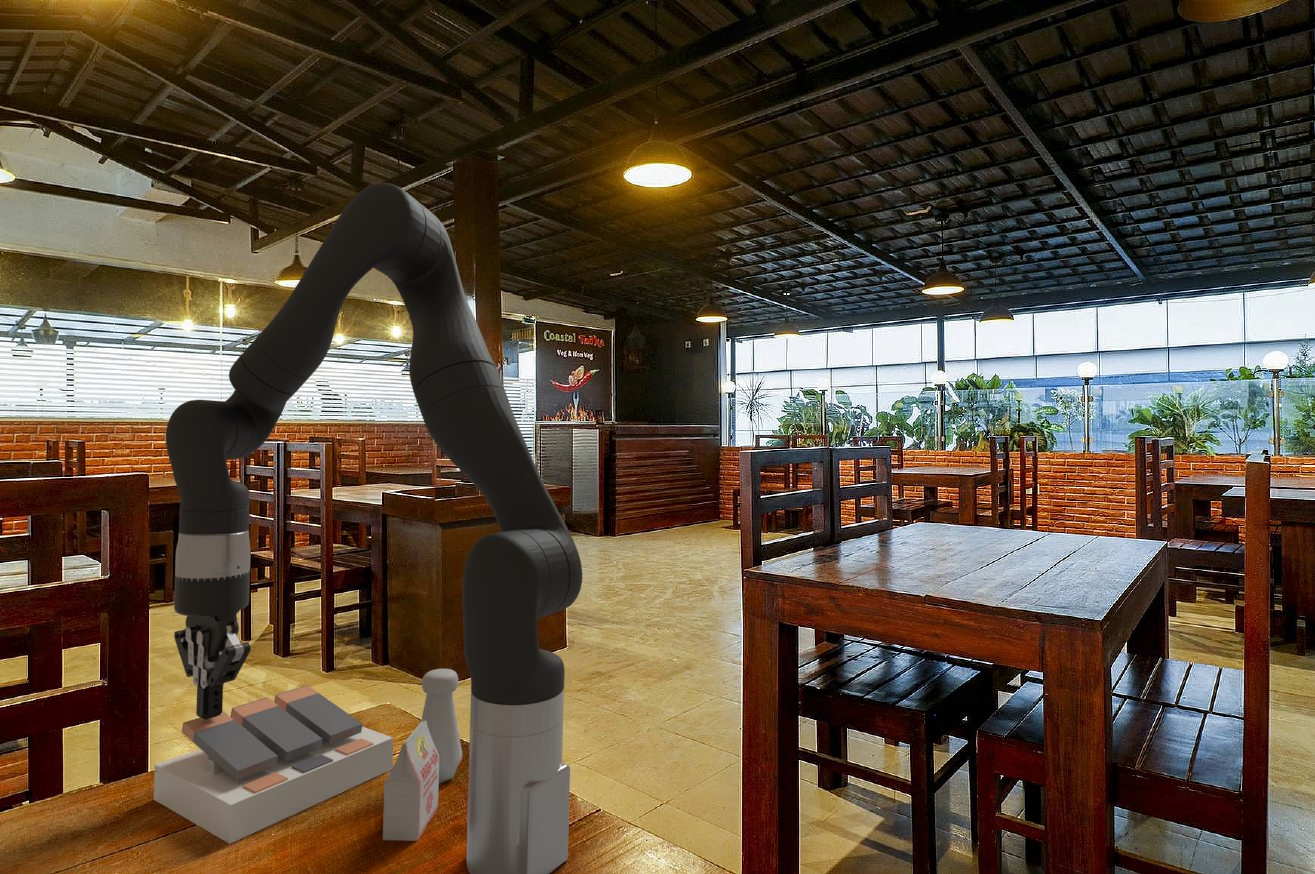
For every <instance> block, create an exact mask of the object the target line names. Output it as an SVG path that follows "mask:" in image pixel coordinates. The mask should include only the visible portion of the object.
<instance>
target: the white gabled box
mask: <svg viewBox="0 0 1315 874" xmlns="http://www.w3.org/2000/svg"><path fill="white" fill-rule="evenodd" d="M393 764H394V765H393V768H392V770H390V772H389V774H388V776H387V778H386V779H385V781H384V783H383V787H384V788H383V791H384V792H383V817H382V818H383V820H382V821H383V824H382V840H383V841H407V842H409V841H411V842H413V841H414V842H415V841H416V842H417V841H419V840H420V838H421V836H423V833H424V831H425V830H426V828H427V827H428V825H429V823H430V822H431V820H432V818H433V817H434V815H435V814H436V812H437V810H438V809H439V785H440V783H439V754H438V752H437V749H436V747H435V745H434V742H433V740H432V738H431V735H430V732H429V729H428V726H427V721H426V720H425V721H424V722H423V721H422V722H421V721H420V723H419V724H418V725H417V726H416V728H415V729H414V730H413V731H412V732H411V734H410V735H409V736H408V737H407V739H405V741H404V742H403V743H402V744H401V747H400V751H399V753H398V756H397V758H396V761H395V762H394V763H393Z"/></svg>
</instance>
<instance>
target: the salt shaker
mask: <svg viewBox="0 0 1315 874" xmlns="http://www.w3.org/2000/svg"><path fill="white" fill-rule="evenodd" d="M421 685H422V686H421V687H422V691H423V692H424V694H426V695H425V696H426V697H425V701H424V706H423V711H422V714H421V715H422V716H421V720H420V723H421V722H422V721H423V722H424V721H425V720H426V721H427V726H428V729H429V732H430V735H431V738H432V740H433V742H434V745H435V747H436V749H437V752H438V754H439V784H442V783H445V782H447V781H449V780H451V779H453V778H454V776H455V774H456V771H457V769H458V767H459V766H460V763H461V761H462V760H463V749H462V744H461V739H460V738H461V737H460V732H459V726H458V722H457V720H458V719H457V712H456V706H455V700H454V693H453V692H456V690H458V687H459V675H458V674H457V672H456V671H455V670H453V669H450V668H436V669H432V670H429V671H428V672H426V673H425V674H424V676H422V681H421Z"/></svg>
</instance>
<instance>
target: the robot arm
mask: <svg viewBox="0 0 1315 874" xmlns="http://www.w3.org/2000/svg"><path fill="white" fill-rule="evenodd" d="M372 269H375V270H376V271H378V272H380V273H382V274H383V275H384V276H386V277H387V278H389V280H390V281H392V283H393V284H394V285H395V287H396V289H397V291H398V293H399V295H400V298H401V299H402V301H403V304H404V306H405V309H406V311H407V314H408V316H409V319H410V323H411V326H412V344H411V348H410V356H409V366H408V367H409V368H408V369H409V372H408V373H409V380H410V384H411V388H412V392H413V395H414V398H415V400H416V403H417V405H418V409H419V411H420V415H421V417H422V420H423V423H424V425H425V427H426V430H427V432H428V434H429V436H430V437H431V439H432V440H433V441H434V443H435V445H437V447H438V448H439V450H441V452H442V453H443V455H445V457H446V458H447V459H449V461H450V462H452V464H454V466H456V468H458V470H460V472H461V473H462V474H463V475H464V476H465V477H466V478H467V479H468V480H469V481H470V482H471V483H472V484H473V485H474V486H475V487H476V489H478V490H479V492H480V493H481V494H482V496H483V497H484V499H485V500H486V502H487V504H488V505H489V507H490V509H491V510H492V513H493V515H494V517H495V519H496V522H497V524H498V527H499V529H500V531H497V532H492V533H489V534H486V535H484V536H482V537H480V538H479V539H478V540H476V542H475V543H474V544H473V545H472V546H471V548H470V550H469V552H468V554H467V557H466V560H465V563H464V568H463V575H462V615H463V616H462V617H463V619H462V620H463V622H462V623H463V624H462V625H463V650H464V651H463V653H464V659H465V663H466V666H467V669H468V672H469V675H470V681H471V682H470V711H469V712H470V715H469V716H470V718H469V719H470V720H469V743H468V744H469V753H468V755H469V756H468V787H467V788H468V789H467V790H468V791H467V792H468V793H467V822H466V823H467V827H466V828H467V831H466V868H467V872H468V873H469V874H550V873H552V872H553V871H554V870H556V869H557V868H559V866H561V865H562V864H563V863H564V862H566V861H567V860H569V829H570V828H569V825H570V791H571V790H570V789H571V788H570V787H571V785H570V784H571V783H570V782H571V767H570V766H569V765H568V764H566V763H563V747H564V746H563V742H564V741H563V740H564V739H563V738H564V736H563V735H564V702H565V701H564V700H565V699H564V698H565V676H566V675H565V673H566V672H565V664H564V661H563V659H562V658H561V657H560V656H559V655H558V654H556V653H554V652H552V651H550V650H546V649H542V648H541V649H540V647H539V636H538V635H539V634H538V633H539V632H538V620H539V619H541V618H544V617H547V616H551V615H553V614H556V613H558V612H561V611H564V610H566V609H568V608H569V607H570V606H572V605H573V604H574V602H575V601H576V600H577V599H578V597H579V594H580V591H581V590H582V589H581V588H582V583H583V566H582V561H581V557H580V553H579V551H578V548H577V545H576V542H575V541H574V538H573V536H572V535H571V532H570V530H569V529H568V527H567V525H566V523H565V521H564V520H563V517H562V515H561V514H560V512H559V510H558V508H557V506H556V504H555V503H554V501H553V498H552V496H551V495H550V493H549V490H548V489H547V488H546V485H545V483H544V481H543V479H542V477H541V476H540V473H539V471H538V469H537V466H536V465H535V462H534V459H533V457H532V455H531V452H530V450H529V448H528V445H527V443H526V440H525V438H524V436H523V433H522V431H521V429H520V426H519V424H518V422H517V419H516V417H515V414H514V411H513V409H512V407H511V403H510V401H509V398H508V394H507V392H506V389H505V386H504V384H503V382H502V380H501V376H500V375H499V371H498V369H497V367H496V365H495V363H494V362H495V361H494V360H493V358H492V356H491V354H490V351H489V350H488V347H487V344H486V342H485V339H484V337H483V335H482V332H481V330H480V327H479V325H478V322H477V321H476V318H475V316H474V313H473V312H472V310H471V307H470V305H469V302H468V299H467V297H466V294H465V290H464V287H463V283H462V279H461V275H460V272H459V268H458V264H457V261H456V257H455V253H454V250H453V245H452V242H451V239H450V237H449V234H448V232H447V229H446V227H445V226H444V224H443V223H442V222H441V220H440V219H439V218H438V217H437V216H436V215H435V214H434V213H433V212H432V211H430V210H429V209H428V208H426V206H424V205H423V204H422V203H420V202H419V201H418V200H417V199H416V198H414V197H413V196H412V195H410V194H409V193H408V192H406V191H405V190H404V189H403V188H401V187H399V186H398V185H396V184H392V183H387V182H377V183H373V184H371V185H369V186H366V187H365V188H364V189H362V190H361V191H360V192H358V193H357V194H356V195H355V196H354V197H353V198H352V199H351V200H350V202H349V203H348V204H346V206H345V208H344V209H343V211H342V212H341V213H340V215H339V216H338V218H337V219H336V221H335V222H334V224H333V226H332V228H331V229H330V231H329V233H328V234H327V236H326V237H325V239H324V241H323V242H322V243H321V245H320V247H319V249H318V250H317V251H316V253H315V254H314V256H313V258H312V260H311V261H310V262H309V265H308V266H307V268H306V270H305V271H304V273H303V274H302V276H301V278H300V279H299V281H298V283H296V286H295V287H294V289H293V290H292V292H291V294H290V295H289V297H288V298H287V300H286V301H285V303H284V304H283V306H282V307H281V308H280V310H279V311H278V312H277V314H276V315H275V316H274V317H273V318H272V319H271V320H270V322H269V323H268V324H267V326H265V328H264V329H262V331H261V332H260V333H259V334H257V335H258V336H256V337H255V339H254V340H253V341H252V342H251V343H250V344H249V346H248V347H246V349H245V350H244V351H243V352H242V353H241V355H239V356H238V357H237V359H236V360H235V361H234V363H233V364H232V366H231V367H230V369H229V372H228V379H229V382H230V384H231V386H232V387H233V389H234V391H233V393H231V395H230V396H229V397H228V398H227V399H226V400H225V401H224V400H223V401H222V400H210V399H193V400H192V399H191V400H188V401H185V402H183V403H181V404H180V405H178V406H177V407H176V408H175V410H173V412H172V414H171V415H170V417H169V419H168V422H167V425H166V429H165V444H166V445H165V446H166V450H167V451H166V452H167V455H168V458H169V463H170V466H171V470H172V475H173V479H174V482H175V485H176V488H177V491H178V494H179V498H180V503H179V514H178V515H179V517H178V518H179V519H178V520H179V523H178V541H177V544H176V549H175V565H174V567H175V569H174V570H175V572H174V600H173V601H174V602H173V609H174V611H175V612H176V613H177V614H178V615H181V616H186V618H185V628H184V629H181V630H175V631H174V634H173V636H174V637H173V638H174V641H175V644H176V648H177V651H178V653H179V656H180V657H179V658H180V659H181V663H182V666H183V669H184V672H185V673H184V674H185V675H186V677H187V678H190V677H192V682H193V685H195V686H196V713H195V714H196V716H197V718H200V717H201V718H203V719H210V718H213V717H216V716H219V715H220V714H221V713H222V711H223V705H224V704H223V703H224V695H223V694H224V684H225V683H226V684H227V683H229V682H232V681H235V680H236V678H237V676H238V675H239V673H240V671H241V669H242V668H243V666H244V664H245V662H246V660H247V658H248V656H249V654H250V653H251V649H252V648H251V644H250V643H249V642H244V643H241V641H240V640H239V638H238V634H239V631H240V628H239V627H240V626H239V623H238V615H237V614H238V613H239V612H240V611H241V610H244V609H245V608H247V607H248V606H249V603H250V584H251V583H250V582H251V581H250V580H251V579H250V578H251V542H250V531H249V528H250V526H249V525H250V493H249V489H248V487H247V486H246V484H244V483H242V482H239V481H236V480H233V479H232V478H231V475H230V471H229V468H228V467H229V466H228V462H227V461H228V460H229V461H230V460H239V459H240V460H241V459H244V458H246V457H249V455H251V454H253V453H254V452H256V451H257V450H258V449H259V448H260V447H262V446H263V445H264V443H265V442H266V441H267V440H268V438H269V437H270V435H271V434H272V431H273V430H274V428H275V426H276V424H277V423H278V421H279V419H280V417H281V415H282V414H283V412H284V409H285V407H286V404H287V402H288V401H289V400H290V399H291V398H292V397H293V396H294V395H295V394H296V393H297V392H298V390H300V389H301V387H302V386H303V385H304V384H305V383H306V381H308V380H309V379H310V377H311V376H312V375H313V374H314V373H315V372H316V371H317V370H318V368H319V367H320V365H321V364H322V363H323V361H324V360H325V358H326V356H327V354H328V352H329V350H330V348H331V346H332V341H333V338H334V334H335V330H336V327H337V321H338V318H339V315H340V312H341V310H342V306H343V305H344V303H345V300H346V298H347V297H348V295H349V294H350V292H351V291H352V290H353V288H354V287H355V285H357V284H358V282H359V281H360V280H362V278H364V277H365V276H366V275H367V274H368V273H369V272H370V271H371V270H372Z"/></svg>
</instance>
